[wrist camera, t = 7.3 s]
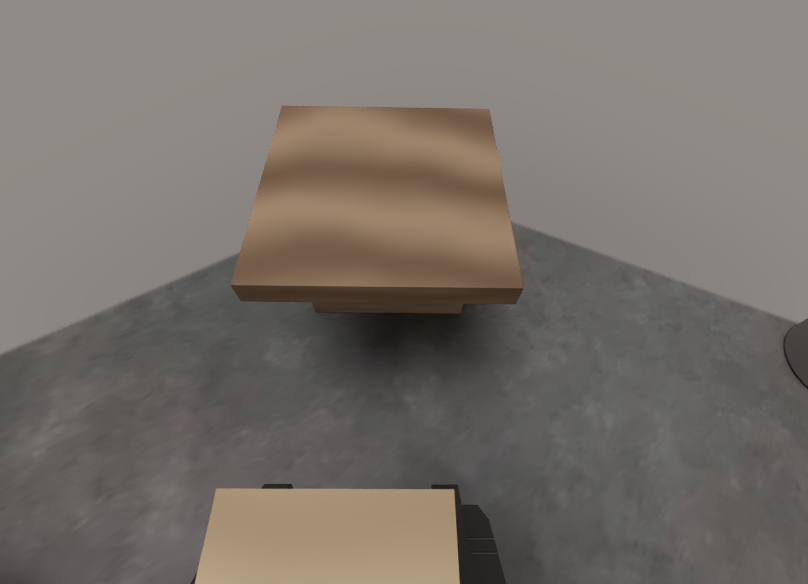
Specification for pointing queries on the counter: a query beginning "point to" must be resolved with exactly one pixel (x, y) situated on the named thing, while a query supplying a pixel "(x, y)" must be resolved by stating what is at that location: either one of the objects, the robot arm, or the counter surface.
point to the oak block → (331, 537)
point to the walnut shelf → (380, 213)
